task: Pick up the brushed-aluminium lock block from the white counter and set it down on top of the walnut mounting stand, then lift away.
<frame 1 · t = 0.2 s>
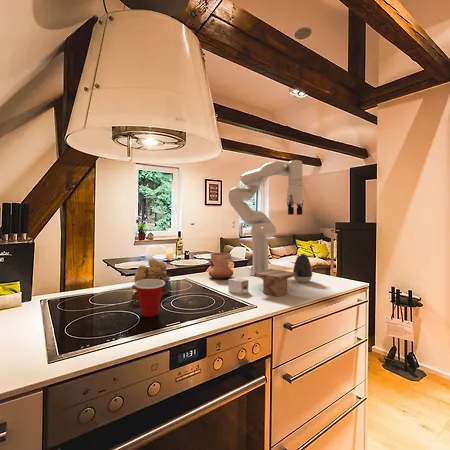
hand: (295, 214, 157), 37 cm above the countertop, tool pointing down, fingers open, 9 cm apart
ceramic jug: (220, 277, 167), on the countertop
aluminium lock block: (238, 292, 134), on the countertop
plastic cup: (150, 315, 104), on the countertop
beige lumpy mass: (152, 295, 130), on the countertop
walnut stand: (275, 293, 132), on the countertop
dark egg shaped dome: (302, 281, 155), on the countertop
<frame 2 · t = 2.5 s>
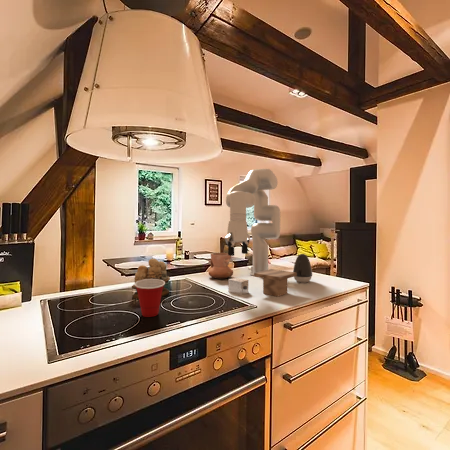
hand: (238, 254, 133), 18 cm above the countertop, tool pointing down, fingers open, 9 cm apart
nothing on the countertop moved.
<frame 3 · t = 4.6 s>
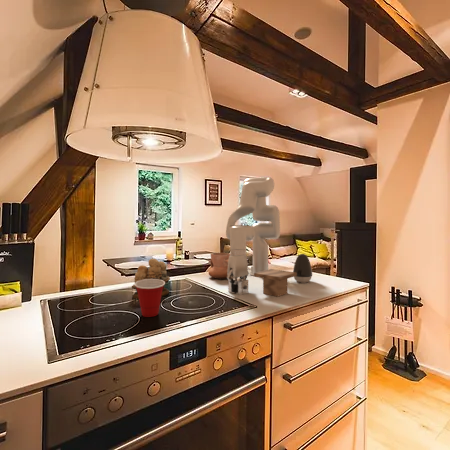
hand: (238, 290, 134), 1 cm above the countertop, tool pointing down, fingers closed on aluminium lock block, 5 cm apart
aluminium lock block: (238, 292, 134), on the countertop, touching gripper
everything else where it was.
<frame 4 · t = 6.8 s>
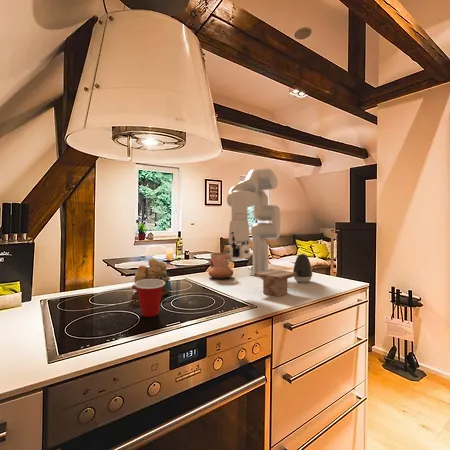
hand: (239, 255, 134), 17 cm above the countertop, tool pointing down, fingers closed on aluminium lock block, 5 cm apart
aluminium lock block: (239, 257, 134), point 16 cm above the countertop, touching gripper
everything else where it was.
when the fingers open (11 cm above the countertop, at t = 9.2 s): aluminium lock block drops 1 cm, resting on walnut stand.
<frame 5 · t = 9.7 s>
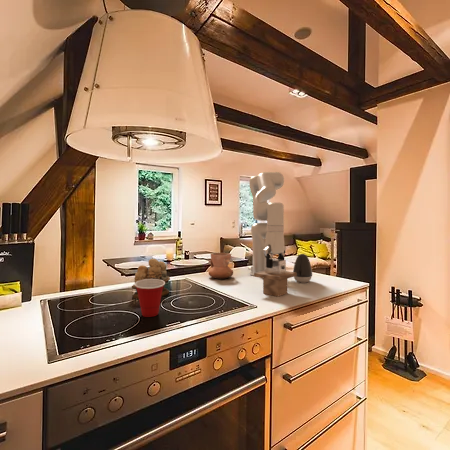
hand: (275, 266, 131), 12 cm above the countertop, tool pointing down, fingers open, 9 cm apart
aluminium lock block: (275, 272, 132), point 9 cm above the countertop, touching walnut stand
everything else where it was.
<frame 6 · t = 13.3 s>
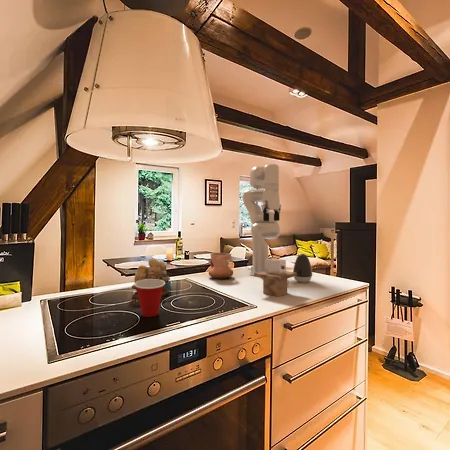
hand: (271, 220, 150), 33 cm above the countertop, tool pointing down, fingers open, 9 cm apart
nothing on the countertop moved.
at the end: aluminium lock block inside the target area on the walnut stand (0.1 cm from its centre), point 9.5 cm above the walnut stand's base; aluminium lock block tilted 0°; the gripper is holding nothing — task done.
